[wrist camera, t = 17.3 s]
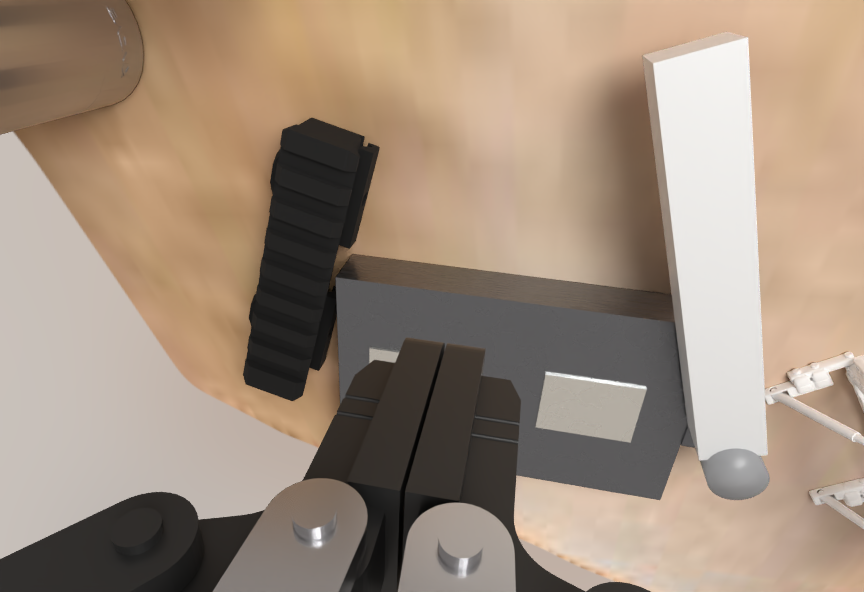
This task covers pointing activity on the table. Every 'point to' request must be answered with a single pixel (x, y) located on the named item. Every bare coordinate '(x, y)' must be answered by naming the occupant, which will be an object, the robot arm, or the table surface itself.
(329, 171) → the rail mount
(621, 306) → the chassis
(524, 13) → the table surface
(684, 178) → the bar
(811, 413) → the film strip holder
